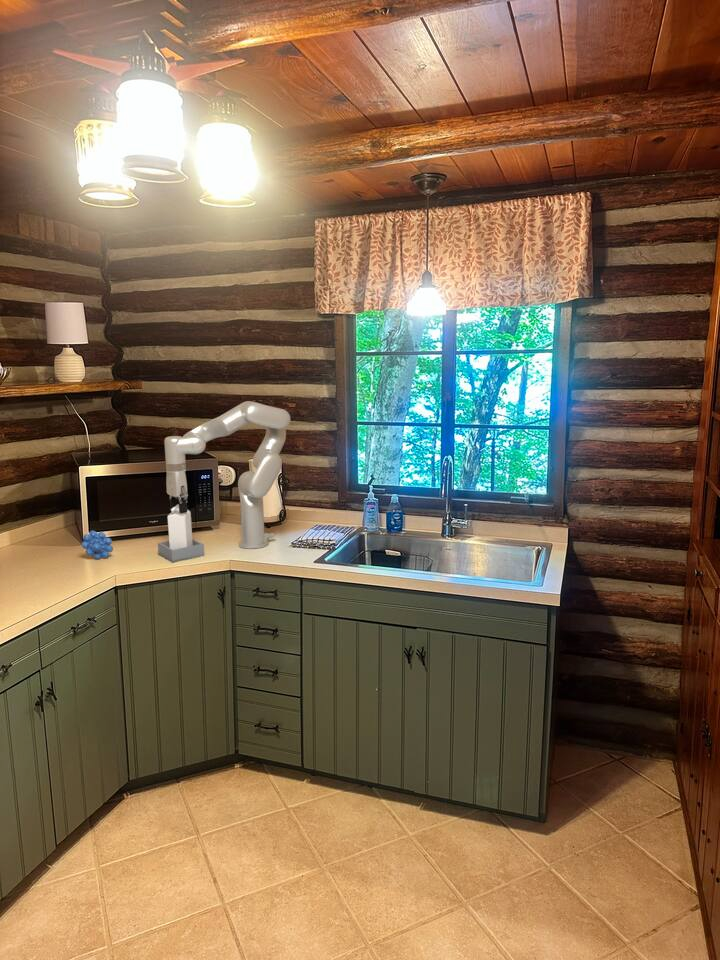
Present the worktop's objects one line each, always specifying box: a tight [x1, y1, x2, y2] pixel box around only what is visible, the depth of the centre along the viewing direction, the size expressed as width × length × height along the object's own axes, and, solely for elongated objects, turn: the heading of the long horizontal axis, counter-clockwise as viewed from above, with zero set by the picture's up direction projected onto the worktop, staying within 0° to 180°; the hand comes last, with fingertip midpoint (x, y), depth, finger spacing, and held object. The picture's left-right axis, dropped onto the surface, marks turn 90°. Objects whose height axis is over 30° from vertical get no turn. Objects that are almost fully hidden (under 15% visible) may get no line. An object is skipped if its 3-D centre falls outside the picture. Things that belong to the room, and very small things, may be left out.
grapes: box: [81, 530, 114, 560], centre depth 274 cm, size 12×7×12 cm, turn 108°
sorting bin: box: [157, 538, 205, 563], centre depth 280 cm, size 14×14×5 cm
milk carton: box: [167, 503, 193, 549], centre depth 278 cm, size 7×7×19 cm
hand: (179, 510), depth 277 cm, fingers closed on milk carton, 7 cm apart
